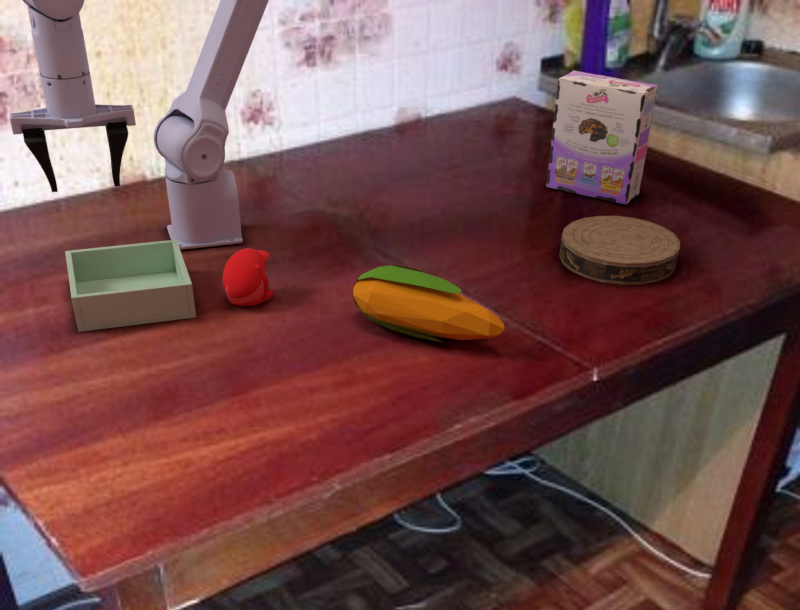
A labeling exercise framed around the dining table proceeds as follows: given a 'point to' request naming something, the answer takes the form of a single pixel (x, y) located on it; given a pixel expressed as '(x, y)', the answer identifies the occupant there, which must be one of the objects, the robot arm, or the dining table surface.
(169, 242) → the bin
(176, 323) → the dining table surface
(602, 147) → the candy box
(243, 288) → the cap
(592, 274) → the tin can
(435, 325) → the corn
